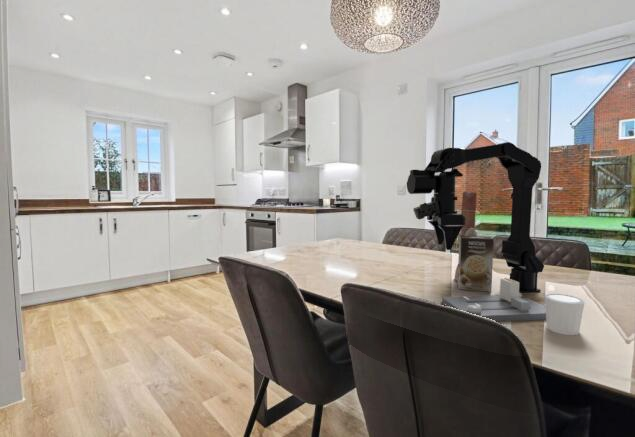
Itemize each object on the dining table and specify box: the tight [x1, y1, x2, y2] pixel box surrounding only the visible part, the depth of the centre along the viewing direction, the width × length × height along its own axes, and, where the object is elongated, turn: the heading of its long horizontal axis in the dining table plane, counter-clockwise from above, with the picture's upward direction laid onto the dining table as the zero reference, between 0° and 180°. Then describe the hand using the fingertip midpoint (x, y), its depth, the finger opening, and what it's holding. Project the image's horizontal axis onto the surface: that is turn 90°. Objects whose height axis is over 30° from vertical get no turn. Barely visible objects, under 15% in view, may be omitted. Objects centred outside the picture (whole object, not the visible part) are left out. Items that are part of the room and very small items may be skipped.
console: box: [441, 292, 546, 323], centre depth 83 cm, size 22×14×4 cm, turn 94°
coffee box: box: [457, 234, 494, 293], centre depth 102 cm, size 9×6×16 cm
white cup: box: [544, 293, 585, 336], centre depth 71 cm, size 7×7×7 cm
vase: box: [454, 191, 478, 282], centre depth 112 cm, size 10×7×30 cm
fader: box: [499, 277, 520, 302], centre depth 86 cm, size 2×4×5 cm, turn 5°
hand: (444, 247), depth 96 cm, fingers open, 9 cm apart
